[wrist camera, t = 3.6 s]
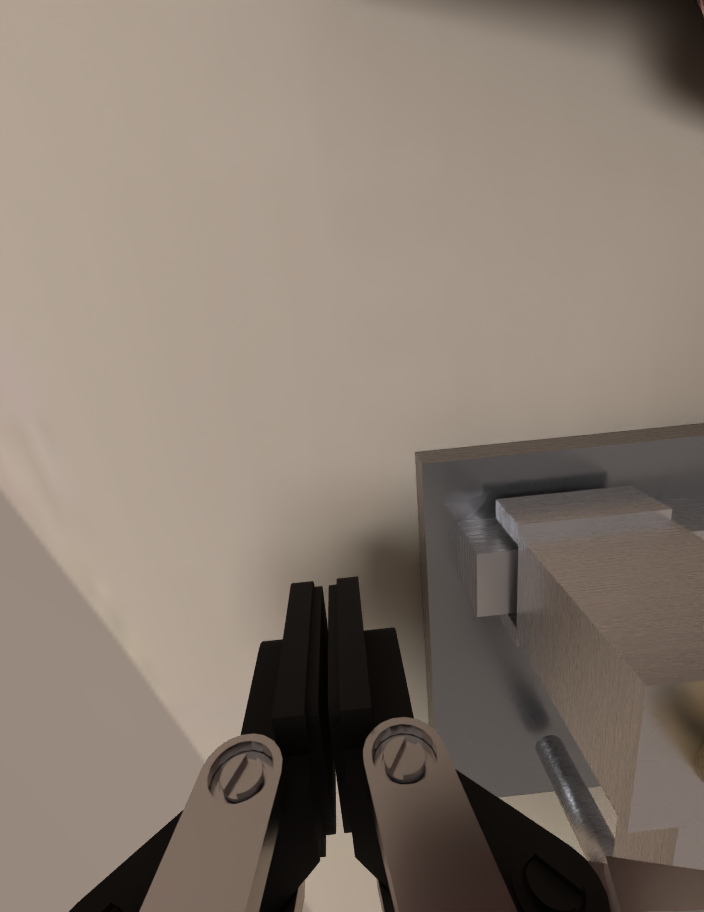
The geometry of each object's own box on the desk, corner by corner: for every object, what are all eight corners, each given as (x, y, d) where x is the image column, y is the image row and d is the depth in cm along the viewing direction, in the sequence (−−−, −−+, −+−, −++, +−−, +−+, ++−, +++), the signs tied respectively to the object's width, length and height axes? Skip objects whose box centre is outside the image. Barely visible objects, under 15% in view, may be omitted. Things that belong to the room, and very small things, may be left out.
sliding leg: (628, 484, 13) (1020, 706, 6) (602, 750, 17) (834, 1123, 9) (494, 497, 13) (711, 742, 6) (493, 762, 16) (633, 1147, 9)
